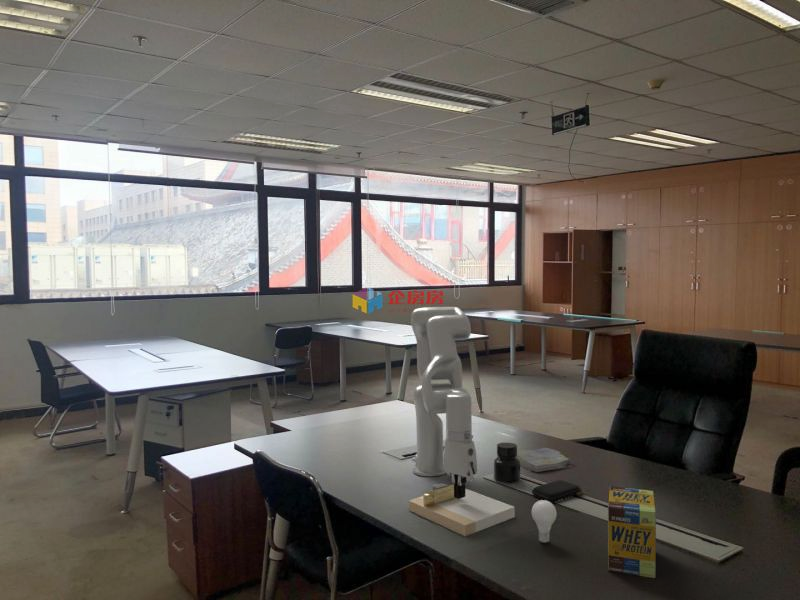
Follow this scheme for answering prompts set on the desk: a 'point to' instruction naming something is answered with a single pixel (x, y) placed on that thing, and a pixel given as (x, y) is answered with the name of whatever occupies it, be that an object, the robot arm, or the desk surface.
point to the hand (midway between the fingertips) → (459, 497)
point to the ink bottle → (507, 463)
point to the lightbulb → (544, 518)
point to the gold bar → (438, 495)
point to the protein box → (632, 531)
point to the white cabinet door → (464, 512)
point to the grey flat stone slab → (542, 459)
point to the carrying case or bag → (556, 490)
